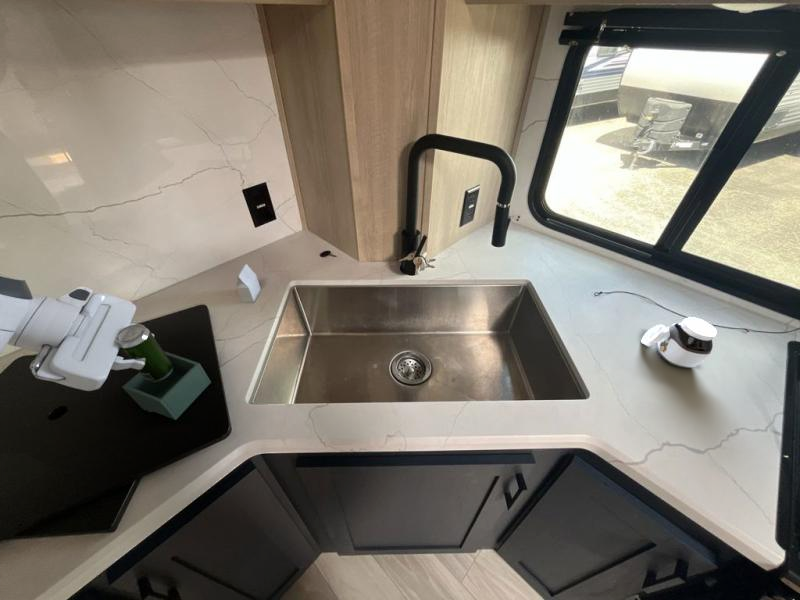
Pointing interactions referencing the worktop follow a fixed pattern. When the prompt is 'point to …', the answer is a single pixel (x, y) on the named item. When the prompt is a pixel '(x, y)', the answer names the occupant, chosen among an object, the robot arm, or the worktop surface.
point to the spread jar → (682, 341)
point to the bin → (170, 388)
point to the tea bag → (247, 285)
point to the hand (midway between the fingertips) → (148, 351)
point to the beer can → (145, 352)
